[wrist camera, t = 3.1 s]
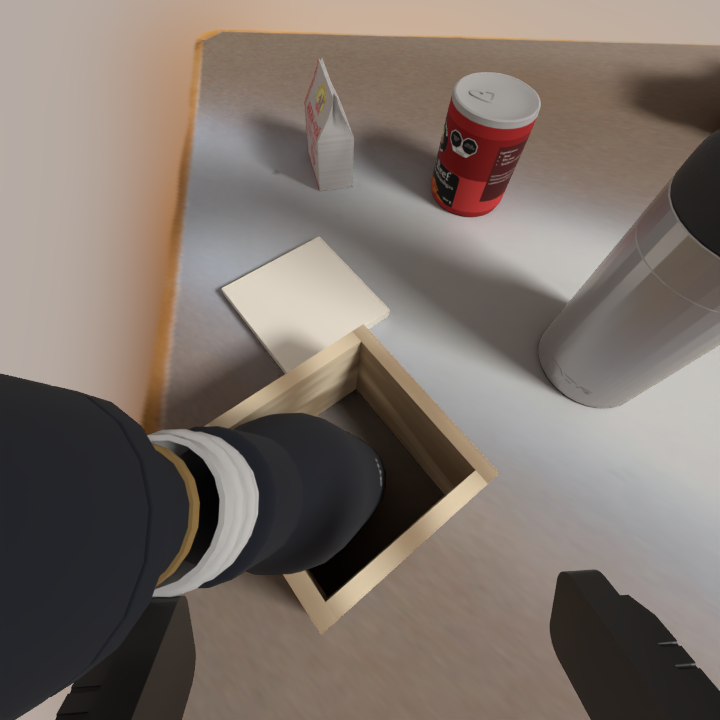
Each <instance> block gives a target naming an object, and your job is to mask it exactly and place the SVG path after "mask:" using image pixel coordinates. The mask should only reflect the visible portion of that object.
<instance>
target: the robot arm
mask: <svg viewBox="0 0 720 720" xmlns="http://www.w3.org/2000/svg"><path fill="white" fill-rule="evenodd" d="M718 345H720V129H719V130H717V131H715V132H714V133H713V134H711V135H710V136H709V137H708V138H706V139H705V140H704V141H703V142H702V143H701V144H700V145H699V146H698V147H697V149H696V150H695V151H694V152H693V153H692V154H691V155H690V157H689V158H688V159H687V160H686V161H685V163H684V164H683V165H682V166H681V168H680V169H679V170H678V171H677V172H676V174H675V175H674V176H673V177H672V178H671V180H670V181H669V182H668V183H667V184H666V186H665V187H664V188H663V189H662V190H661V192H660V193H659V194H658V195H657V196H656V198H655V199H654V200H653V201H652V203H651V204H650V205H649V206H648V207H647V209H646V210H645V211H644V212H643V213H642V215H641V216H640V217H639V219H638V220H637V221H636V222H635V223H634V225H633V226H632V227H631V228H630V229H629V231H628V232H627V233H626V234H625V235H624V237H623V238H622V239H621V240H620V241H619V243H618V244H617V245H616V246H615V247H614V249H613V250H612V251H611V252H610V253H609V255H608V256H607V257H606V258H605V259H604V261H603V262H602V263H601V264H600V265H599V267H598V268H597V269H596V270H595V271H594V273H593V274H592V275H591V276H590V277H589V279H588V280H587V281H586V282H585V283H584V285H583V286H582V287H581V288H580V289H579V291H578V292H577V293H576V294H575V295H574V297H573V298H572V299H571V300H570V301H569V303H568V304H567V305H566V306H565V307H564V308H563V310H562V311H561V312H560V313H559V314H558V316H557V317H556V318H555V319H554V321H553V322H552V323H551V324H550V325H549V327H548V328H547V329H546V330H545V332H544V333H543V334H542V337H541V339H540V342H539V351H538V352H539V359H540V363H541V365H542V368H543V370H544V372H545V374H546V375H547V377H548V379H549V380H550V381H551V382H552V383H553V384H554V386H555V387H556V388H557V389H558V390H560V391H561V392H562V393H563V394H565V395H566V396H567V397H569V398H571V399H573V400H574V401H576V402H579V403H581V404H584V405H587V406H591V407H597V408H612V407H616V406H620V405H622V404H624V403H626V402H627V401H629V400H631V399H633V398H634V397H636V396H637V395H639V394H641V393H642V392H644V391H645V390H647V389H649V388H650V387H652V386H654V385H656V384H657V383H659V382H660V381H662V380H664V379H665V378H667V377H668V376H670V375H672V374H673V373H675V372H676V371H678V370H680V369H681V368H683V367H685V366H686V365H688V364H689V363H691V362H693V361H694V360H696V359H697V358H699V357H701V356H702V355H704V354H706V353H707V352H709V351H710V350H712V349H714V348H715V347H717V346H718ZM550 635H551V640H552V644H553V647H554V650H555V653H556V655H557V657H558V659H559V661H560V663H561V665H562V667H563V669H564V670H565V672H566V674H567V676H568V678H569V680H570V682H571V684H572V685H573V687H574V689H575V691H576V693H577V695H578V697H579V698H580V700H581V702H582V704H583V706H584V708H585V710H586V711H587V713H588V715H589V717H590V719H591V720H720V691H719V690H718V689H717V687H716V686H715V685H714V684H713V683H712V682H711V680H710V679H709V678H708V677H707V676H706V674H705V673H704V672H703V671H702V670H701V669H700V668H697V667H696V665H695V661H694V660H693V659H692V658H691V657H690V656H689V654H688V653H687V652H686V651H685V650H684V648H683V647H682V646H679V645H678V644H677V640H676V639H675V638H674V637H673V635H672V634H671V633H670V632H669V631H668V630H667V628H666V627H665V626H664V625H663V624H662V623H661V621H660V620H659V619H658V618H657V617H656V615H654V614H653V613H652V612H650V611H649V610H648V609H646V608H645V607H644V606H642V605H641V604H640V603H638V602H637V601H636V600H634V599H633V598H632V597H630V596H629V595H619V594H618V592H617V591H616V590H615V589H614V587H613V586H612V585H611V584H610V582H609V581H608V580H607V579H606V577H605V576H604V575H603V574H602V573H601V572H599V571H598V570H581V571H566V572H561V573H560V574H559V575H558V578H557V584H556V590H555V596H554V602H553V607H552V613H551V619H550ZM195 660H196V652H195V644H194V638H193V632H192V626H191V619H190V613H189V607H188V602H187V598H186V597H185V596H174V597H157V598H151V601H150V604H149V605H148V607H147V608H146V609H145V611H144V612H143V614H142V615H141V617H140V618H139V619H138V621H137V622H136V624H135V625H134V626H133V628H132V629H131V631H130V632H129V634H128V635H127V636H126V638H125V639H124V641H123V642H122V643H121V645H120V646H119V648H117V649H116V650H115V651H114V652H112V653H111V654H110V655H109V656H107V657H106V658H105V659H104V660H102V661H101V662H100V663H99V664H97V665H96V666H95V667H94V668H92V669H91V670H90V671H89V672H87V673H86V674H85V675H84V676H82V677H81V678H80V679H78V680H77V681H76V682H74V684H73V685H72V687H71V692H70V694H67V696H66V698H65V700H64V702H63V704H62V706H61V707H60V709H59V711H58V713H57V717H56V720H182V717H183V714H184V710H185V707H186V703H187V700H188V697H189V693H190V690H191V686H192V682H193V677H194V671H195Z"/></svg>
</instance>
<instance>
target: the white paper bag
mask: <svg viewBox="0 0 720 720" xmlns="http://www.w3.org/2000/svg"><path fill="white" fill-rule="evenodd" d="M305 115H306V130H307V145H308V153H309V157H310V160H311V164H312V167H313V170H314V174H315V177H316V180H317V184H318V187H319V190H320V191H326V190H334V189H341V188H348V187H352V179H353V154H354V136H353V134H352V131H351V128H350V126H349V123H348V121H347V118H346V115H345V113H344V110H343V107H342V105H341V102H340V100H339V97H338V95H337V93H336V91H335V89H334V87H333V85H332V83H331V81H330V78H329V75H328V73H327V70H326V67H325V65H324V62H323V59H322V62H321V61H320V59H319V58H318V62H317V67H316V71H315V74H314V78H313V80H312V83H311V86H310V88H309V91H308V94H307V96H306V99H305Z"/></svg>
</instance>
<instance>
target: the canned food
mask: <svg viewBox="0 0 720 720" xmlns="http://www.w3.org/2000/svg"><path fill="white" fill-rule="evenodd" d="M540 105H541V102H540V98H539V96H538V94H537V93H536V92H535V91H534V89H533V88H531V87H530V86H529V85H528V84H526V83H524V82H523V81H521V80H519V79H517V78H514V77H512V76H508V75H505V74H500V73H493V72H479V73H473V74H469V75H467V76H465V77H462V78H461V79H460V80H459V81H458V82H457V83H456V85H455V88H454V90H453V93H452V97H451V101H450V104H449V108H448V113H447V117H446V121H445V125H444V130H443V134H442V138H441V142H440V147H439V151H438V155H437V160H436V164H435V168H434V172H433V177H432V181H431V187H432V194H433V197H434V198H435V200H436V202H437V203H438V204H439V205H440V206H441V207H443V208H444V209H446V210H447V211H449V212H451V213H454V214H457V215H461V216H467V217H477V216H482V215H485V214H487V213H489V212H491V211H492V210H493V209H494V208H495V207H496V206H497V205H498V204H499V202H500V201H501V199H502V196H503V194H504V192H505V190H506V187H507V185H508V183H509V180H510V178H511V176H512V174H513V171H514V169H515V167H516V164H517V162H518V160H519V158H520V155H521V153H522V151H523V149H524V146H525V144H526V142H527V139H528V137H529V135H530V133H531V130H532V128H533V126H534V123H535V120H536V118H537V116H538V113H539V109H540Z"/></svg>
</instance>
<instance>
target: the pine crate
mask: <svg viewBox="0 0 720 720" xmlns="http://www.w3.org/2000/svg"><path fill="white" fill-rule="evenodd" d="M355 389H357V391H358V392H359V393H360V394H361V395H362V397H363V398H364V399H365V400H366V401H367V403H368V404H369V405H370V406H371V407H372V409H373V410H374V411H375V412H376V413H377V414H378V416H379V417H380V418H381V419H382V420H383V422H384V423H385V424H386V425H387V426H388V428H389V429H390V430H391V431H392V432H393V434H394V435H395V436H396V437H397V438H398V440H399V441H400V442H401V443H402V444H403V445H404V447H405V448H406V449H407V450H408V451H409V453H410V454H411V455H412V456H413V457H414V459H415V460H416V461H417V462H418V463H419V465H420V466H421V467H422V468H423V469H424V471H425V472H426V473H427V474H428V475H429V477H430V478H431V479H432V480H433V481H434V482H435V484H436V485H437V486H438V487H439V488H440V490H441V491H442V492H443V493H444V494H445V495H444V496H443V497H442V498H441V499H440V500H439V501H437V502H436V503H435V504H434V505H433V506H432V507H431V508H429V509H428V510H427V511H426V512H425V513H424V514H423V515H421V516H420V517H419V518H418V519H417V520H416V521H415V522H413V523H412V524H411V525H410V526H409V527H408V528H407V529H405V530H404V531H403V532H402V533H401V534H400V535H399V536H398V537H396V538H395V539H394V540H393V541H392V542H391V543H390V544H388V545H387V546H386V547H385V548H384V549H383V550H382V551H380V552H379V553H378V554H377V555H376V556H375V557H374V558H372V559H371V560H370V561H369V562H368V563H367V564H366V565H364V566H363V567H362V568H361V569H360V570H359V571H358V572H356V573H355V574H354V575H353V576H352V577H351V578H350V579H348V580H347V581H346V582H345V583H344V584H343V585H342V586H341V587H339V588H338V589H337V590H336V591H335V592H334V593H333V594H331V595H330V596H329V597H327V595H326V594H325V592H324V591H323V589H322V588H321V586H320V585H319V583H318V582H317V580H316V579H315V577H314V576H313V574H312V573H311V571H310V570H309V569H307V570H304V571H302V572H298V573H294V574H283V575H284V577H285V579H286V580H287V582H288V583H289V585H290V587H291V588H292V590H293V591H294V593H295V594H296V596H297V598H298V599H299V601H300V602H301V604H302V606H303V607H304V609H305V610H306V612H307V613H308V615H309V617H310V618H311V620H312V621H313V623H314V625H315V626H316V628H317V629H318V631H319V632H320V634H321V635H322V634H323V633H324V632H325V631H326V630H327V629H328V628H329V627H330V626H331V625H333V624H334V623H335V622H336V621H337V620H338V619H339V618H340V617H341V616H343V615H344V614H345V613H346V612H347V611H348V610H349V609H350V608H351V607H352V606H354V605H355V604H356V603H357V602H358V601H359V600H360V599H361V598H362V597H363V596H365V595H366V594H367V593H368V592H369V591H370V590H371V589H372V588H373V587H374V586H376V585H377V584H378V583H379V582H380V581H381V580H382V579H383V578H384V577H386V576H387V575H388V574H389V573H390V572H391V571H392V570H393V569H394V568H395V567H397V566H398V565H399V564H400V563H401V562H402V561H403V560H404V559H405V558H406V557H408V556H409V555H410V554H411V553H412V552H413V551H414V550H415V549H416V548H418V547H419V546H420V545H421V544H422V543H423V542H424V541H425V540H426V539H427V538H429V537H430V536H431V535H432V534H433V533H434V532H435V531H436V530H437V529H438V528H440V527H441V526H442V525H443V524H444V523H445V522H446V521H447V520H448V519H450V518H451V517H452V516H453V515H454V514H455V513H456V512H457V511H458V510H459V509H461V508H462V507H463V506H464V505H465V504H466V503H467V502H468V501H469V500H470V499H472V498H473V497H474V496H475V495H476V494H477V493H478V492H479V491H480V490H481V489H483V488H484V487H485V486H486V485H487V484H488V483H489V482H490V481H491V480H493V479H494V478H495V477H496V476H497V475H498V474H499V472H498V471H497V470H496V469H495V468H494V467H493V466H492V465H491V464H490V462H489V461H488V460H487V459H486V458H485V457H484V456H483V455H482V454H481V453H480V451H479V450H478V449H477V448H476V447H475V446H474V445H473V444H472V443H471V442H470V440H469V439H468V438H467V437H466V436H465V435H464V434H463V433H462V432H461V431H460V429H459V428H458V427H457V426H456V425H455V424H454V423H453V422H452V421H451V420H450V418H449V417H448V416H447V415H446V414H445V413H444V412H443V411H442V410H441V409H440V407H439V406H438V405H437V404H436V403H435V402H434V401H433V400H432V399H431V398H430V397H429V395H428V394H427V393H426V392H425V391H424V390H423V389H422V388H421V387H420V386H419V384H418V383H417V382H416V381H415V380H414V379H413V378H412V377H411V376H410V375H409V373H408V372H407V371H406V370H405V369H404V368H403V367H402V366H401V365H400V364H399V362H398V361H397V360H396V359H395V358H394V357H393V356H392V355H391V354H390V353H389V351H388V350H387V349H386V348H385V347H384V346H383V345H382V344H381V343H380V342H379V340H378V339H377V338H376V337H375V336H374V335H373V334H372V333H371V332H370V331H369V329H368V328H367V327H366V326H365V325H364V324H363V325H361V326H360V327H358V328H356V329H355V330H353V331H352V332H350V333H349V334H347V335H346V336H344V337H342V338H341V339H339V340H338V341H336V342H335V343H333V344H331V345H330V346H328V347H327V348H325V349H324V350H322V351H321V352H319V353H317V354H316V355H314V356H313V357H311V358H310V359H308V360H307V361H305V362H303V363H302V364H300V365H299V366H297V367H296V368H294V369H292V370H291V371H289V372H288V373H286V374H285V375H283V376H282V377H280V378H278V379H277V380H275V381H274V382H272V383H271V384H269V385H268V386H266V387H264V388H263V389H261V390H260V391H258V392H257V393H255V394H253V395H252V396H250V397H249V398H247V399H246V400H244V401H243V402H241V403H239V404H238V405H236V406H235V407H233V408H232V409H230V410H229V411H227V412H225V413H224V414H222V415H221V416H219V417H218V418H216V419H214V420H213V421H211V422H210V423H208V424H207V425H205V426H204V427H208V426H220V427H224V428H229V429H235V428H236V427H238V426H239V425H241V424H244V423H247V422H249V421H252V420H255V419H257V418H260V417H264V416H267V415H271V414H281V413H305V414H309V415H312V416H315V417H316V416H318V415H319V414H321V413H322V412H324V411H325V410H326V409H328V408H329V407H331V406H332V405H334V404H335V403H336V402H338V401H339V400H341V399H342V398H344V397H345V396H346V395H348V394H349V393H351V392H352V391H354V390H355Z"/></svg>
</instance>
